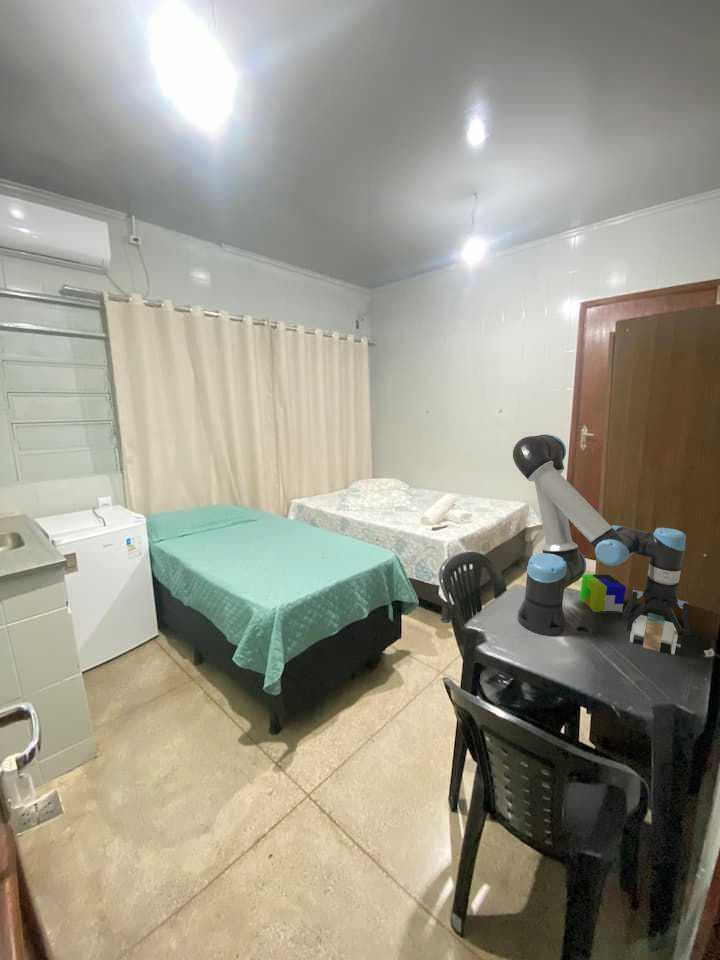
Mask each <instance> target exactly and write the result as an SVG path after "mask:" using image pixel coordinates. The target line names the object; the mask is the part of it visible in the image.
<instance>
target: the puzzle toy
mask: <svg viewBox="0 0 720 960" xmlns="http://www.w3.org/2000/svg"><path fill="white" fill-rule="evenodd" d="M626 589H627V586H625V585H624V584H623V583H621V582H619V580H617V579H616V578H614V577H613V576H612V575H610V574H584V575H583V576H582V577H581V587H580V594H579V599H580V600H581V601H582V602H583V603H584V604H585V605H587V606H588V607H589V609H591V611H592V612H594V613H601V612H600V611H620V612H619V613H623V607H624V601H625V595H626Z"/></svg>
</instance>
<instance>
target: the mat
mask: <svg viewBox="0 0 720 960" xmlns="http://www.w3.org/2000/svg"><path fill="white" fill-rule="evenodd" d="M647 616H648V615H644V614H641V615H640V616H639V617H638V618H637V619H636V626H635V632H634V636H638V637H640V638H644V634H645V628H646V622H647ZM674 630H675V631H677V630H676V628H675V626H674V624H673V622H672V621H667V620H665V624H664V629H663V635H662V641H661V644H662V643H663V644H666V645H669V646H671V644H672V638H673V633H674ZM676 646H677V647H676V648H681V647H682V646H681V644H676Z"/></svg>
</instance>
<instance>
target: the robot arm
mask: <svg viewBox="0 0 720 960" xmlns="http://www.w3.org/2000/svg"><path fill="white" fill-rule="evenodd" d="M566 454H567V448H566V445H565V443H564V442H563V440H561V438H559V437H557V436H556V435H552V434H545V433H544V434H539V435H530V436H526V437H523V438H521V439H520V440H518V441H517V443H516V444H515V445H514V447H513V450H512V458H513V459H512V461H513V462H514V464H515V466H516V467H517V469H518V470H519V472H520V473H521V474H522V475H523V476H524V477H525V478H526V479H527V481H528V482H533V483H534V484H535V490H536V491H535V492H536V497H537V502H538V507H539V512H540V517H541V523H542V525H541V526H542V529H543V535H544V536H543V537H544V540H545V544H544V545H543V546H542V547H541V550H542V553H537V554H534V555H532V556H531V557H530V558H529V560H528V565H527V566H526V567H527V568H526V580H525V581H526V582H525V594H524V599H523V601H522V603H521V605H520V607H519V609H518V611H517V621H518V622H519V624H520V625H521V626H522V627H524V628H525V629H526V630H529V631H530V632H534V633H537V634H540V635H544V636H545V635H546V636H557V635H561V634H563V633H564V632H565V631H566V628H567V627H566V626H567V620H566V615H565V613H564V609H563V600H564V593H565V589H567V588H569V587H570V586H572V585H573V584H574V583H576V582H578V581H579V580H580V579H582V576H583V575H585V573H586V571H587V561H586V557H585V556H584V554H582V553H581V552H580V551H579V546H578V544H577V543H576V542H574V541H573V539H572V533H571V527H570V522H571V523H572V524H573V526H575V528H576V529H577V530H578V531H579V532H580V533H581V535H583V536H584V537H585V538H586V539H587V540H588V541H589V542H590V544H591V545H592V546H593V547H594V548H595V549H594V553H595V557H596V559H597V560H598V561H599V562H600V563H602V564H604V565H606V566H610V567H613V566H618V565H620V564H622V563H623V564H624V563H625V562H626V561H627V560H628V559H629V558H630V557H632V556H633V555H637V556H641V557H646V558H649V564H648V571H647V577H646V583H645V588H644V590H643V591H641V590H637V589H636V588H634V589H632V593H631V594H632V595H631V597H630V599H629V600H628V603H627V604H626V606H625V607H624V610H622V612H621V613H622V616H621V617H622V619H624V620H627V626H626V629H627V631H629V632H630V636H629V643H634V637H635V635H634V632H635V626H636V619H637V618H638V617H639V616H640V615H643V614H644V613H645V612H646V611H647V610H649V609H650V608H652V609H659V610H661V611H666V612H667V614H668V616H669V618H670V620H671V623H673V624H674V626H675V628H676V630H677V631H675V630H674V633H673V638H672V644H671V645H670V654H671V655H675V652H676V648H677V647H676V644H680V645H681V644H682V641H683V637H684V636H686V635H687V636H692V629H691V624H690V620H689V619H690V618H689V614H688V613H689V612H688V610H689V607H690V606H689V601H688V600H682V599H678V598H677V595H678V594H677V593H678V589H679V582H680V578H681V577H680V576H681V571H682V567H683V566H682V565H683V561H684V556H685V551H686V541H687V536H686V533H684V532H683V531H681V530H679V529H674V528H671V527H670V528H669V527H667V528H666V527H657V528H656V529H654V532H648V531H645V530H639V529H635V528H630V527H627V526H625V525H623V526H621V525H610V524H609V522H608V521H606V520H605V518H604V517H603V516H602V515H601V514H600V513H599V512H598V511H597V510H596V509H595V508H594V507H593V506H592V505H591V504H590V503H589V502H588V501H587V500H586V499H585V497H583V496H582V495H581V493H580V492H579V491H578V490H577V489H576V488H575V487H574V486H572V484H571V483H570V482H569V481H568V480H567V479H566V478H565V476H563V475H562V473H563V471H565V466H564V462H563V461H564V459H565V458H566ZM569 521H570V522H569ZM641 597H643V598H644V601H643V603H642V604H640V605H639V606H638V607H637V608H636V609H635V610H634V611H633V612H632V613H631V611H632V609H633V608H634V606H635V605H636V602H637V601H638V599H640V598H641ZM676 605H678V608H680V609H681V614H682V619H683V620H682V621H683V624H684V625H683V626H684V628H682V626H681V624H680V622H679V620H678V618H677V616H676V614H675V612H674V610H673V608H672V607H674V606H676ZM630 613H631V614H630Z"/></svg>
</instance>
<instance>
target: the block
mask: <svg viewBox="0 0 720 960" xmlns="http://www.w3.org/2000/svg"><path fill="white" fill-rule="evenodd" d="M646 616H647V622H646V628H645V634H644V637H643V641H642V645H643V649H648V650H651V651H655V652H658V653H660V651H661V646H662V642H661V641H662V635H663V629H664V624H665V621H666V620H665V616H663V615H659V614H655V613H651V612H647V615H646Z"/></svg>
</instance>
